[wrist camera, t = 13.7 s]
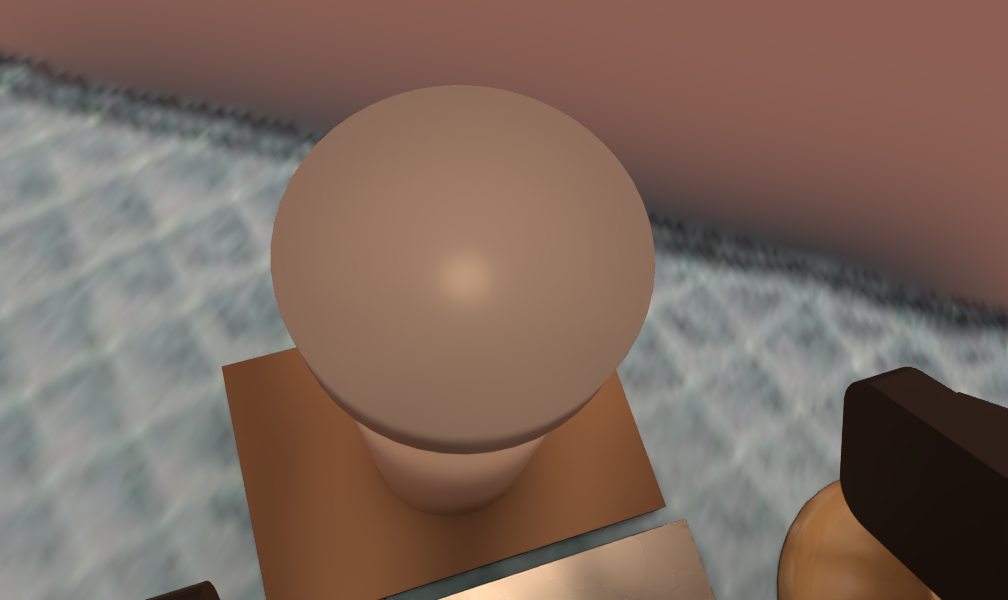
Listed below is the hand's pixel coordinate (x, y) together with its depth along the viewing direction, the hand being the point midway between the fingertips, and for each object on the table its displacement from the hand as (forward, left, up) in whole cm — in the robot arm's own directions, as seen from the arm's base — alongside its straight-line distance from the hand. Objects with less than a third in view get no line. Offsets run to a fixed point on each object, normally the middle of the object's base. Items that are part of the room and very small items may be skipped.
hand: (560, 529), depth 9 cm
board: (0, +4, -15) cm, 16 cm away
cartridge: (0, +4, -14) cm, 15 cm away
